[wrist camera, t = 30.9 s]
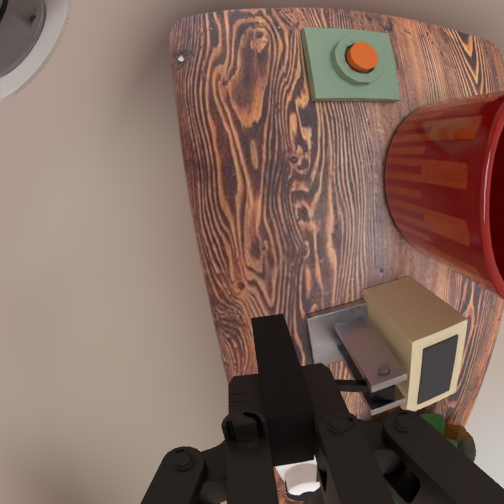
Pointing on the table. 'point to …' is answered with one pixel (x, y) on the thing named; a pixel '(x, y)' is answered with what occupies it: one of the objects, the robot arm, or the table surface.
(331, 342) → the metal lever stand
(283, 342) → the robot arm
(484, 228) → the planter
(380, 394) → the toaster lever
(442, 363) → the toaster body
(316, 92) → the control block
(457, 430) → the decorative stone
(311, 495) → the container
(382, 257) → the table surface
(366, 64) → the button
